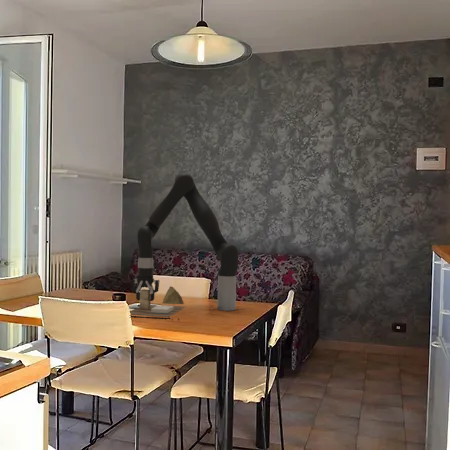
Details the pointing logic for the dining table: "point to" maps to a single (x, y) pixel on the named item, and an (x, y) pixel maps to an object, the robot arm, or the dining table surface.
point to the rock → (172, 297)
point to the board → (148, 313)
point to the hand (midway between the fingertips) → (145, 300)
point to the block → (145, 299)
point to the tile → (162, 309)
